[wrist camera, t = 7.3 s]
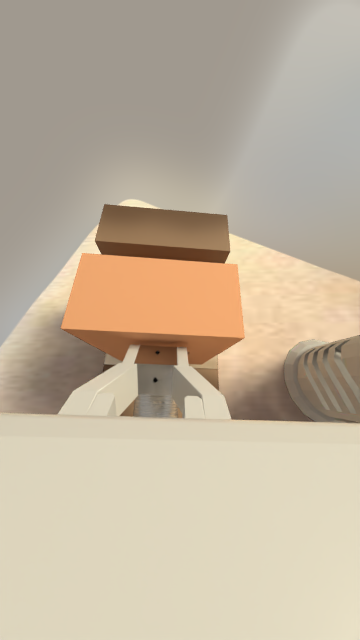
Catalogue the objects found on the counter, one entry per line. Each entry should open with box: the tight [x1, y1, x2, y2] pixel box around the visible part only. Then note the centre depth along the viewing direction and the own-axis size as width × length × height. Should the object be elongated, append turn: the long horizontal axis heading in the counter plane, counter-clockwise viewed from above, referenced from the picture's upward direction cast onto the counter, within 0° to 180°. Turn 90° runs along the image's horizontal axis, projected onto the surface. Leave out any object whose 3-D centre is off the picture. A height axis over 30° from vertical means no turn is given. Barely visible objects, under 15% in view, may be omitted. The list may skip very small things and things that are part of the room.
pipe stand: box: [95, 204, 230, 418], centre depth 14 cm, size 21×12×12 cm, turn 178°
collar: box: [61, 253, 245, 365], centre depth 13 cm, size 4×8×10 cm, turn 88°
